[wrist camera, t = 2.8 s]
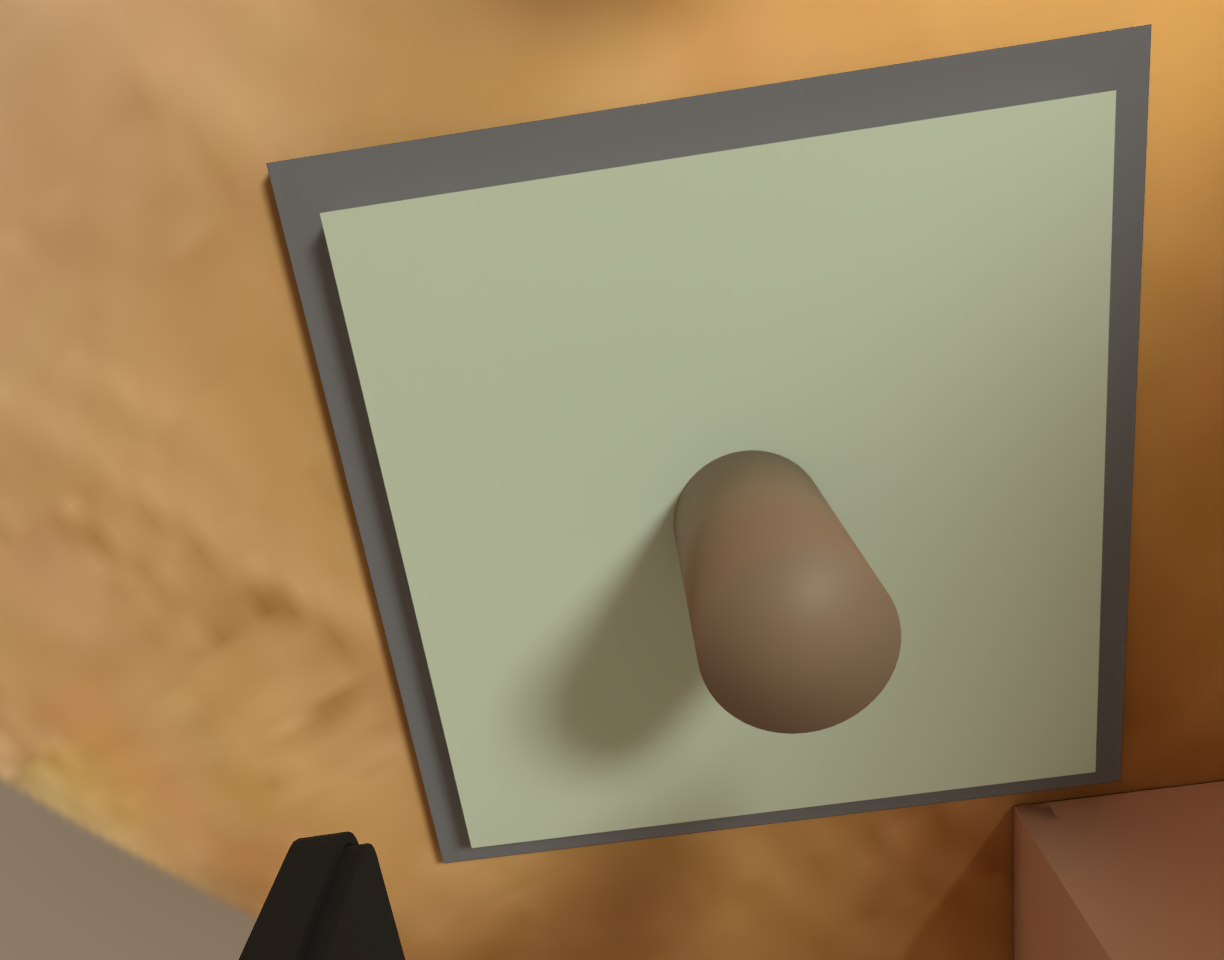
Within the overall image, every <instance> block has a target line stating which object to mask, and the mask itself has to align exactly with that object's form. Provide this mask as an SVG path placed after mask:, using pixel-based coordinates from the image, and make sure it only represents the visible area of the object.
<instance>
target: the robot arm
mask: <svg viewBox="0 0 1224 960" xmlns="http://www.w3.org/2000/svg"><path fill="white" fill-rule="evenodd" d="M239 960H405V957H404V954H403V950H402V946H401V943H400V939H399V935H398V932H397V928H396V924H395V921H394V917H393V913H392V910H391V906H390V902H389V899H388V895H387V891H386V888H385V884H384V880H383V877H382V873H381V869H380V866H379V862H378V858H377V855H376V852H375V849H374V847H373V846H372V844H369V843H367V844H360V845H359V844H358V842H357V839H356V837H355V836H354V835H353V833H351V832H342V833H335V834H328V835H320V836H313V837H306V838H299V839H297V840H296V841H294V842H293V844H292V845H291V847H290V848H289V851H288V853H287V855H286V857H285V859H284V862H283V864H282V866H281V868H280V870H279V873H278V875H277V877H276V879H275V881H274V884H273V886H272V888H271V890H270V892H269V894H268V897H267V899H266V901H265V903H264V905H263V908H262V910H261V912H260V914H259V916H258V919H257V921H256V923H255V925H254V927H253V930H252V932H251V934H250V936H249V938H248V941H247V943H246V945H245V947H244V949H243V952H242V954H241V956H240V958H239Z"/></svg>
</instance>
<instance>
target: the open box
mask: <svg viewBox="0 0 1224 960" xmlns="http://www.w3.org/2000/svg"><path fill="white" fill-rule="evenodd" d="M1013 887H1014V960H1224V781H1220V782H1212V783H1204V784H1196V785H1187V786H1179V787H1171V788H1162V789H1154V790H1146V791H1138V792H1129V793H1121V794H1113V795H1105V796H1096V797H1088V798H1080V799H1072V800H1063V801H1055V802H1047V803H1039V804H1030V805H1022V806H1014V807H1013Z"/></svg>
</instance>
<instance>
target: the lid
mask: <svg viewBox="0 0 1224 960" xmlns="http://www.w3.org/2000/svg"><path fill="white" fill-rule="evenodd" d="M1115 112H1116V90H1114V91H1107V92H1101V93H1094V94H1088V95H1081V96H1075V97H1069V98H1062V99H1056V100H1049V101H1043V102H1036V103H1030V104H1023V105H1017V106H1010V107H1004V108H997V109H991V110H984V111H978V112H971V113H965V114H958V115H952V116H945V117H939V118H932V119H926V120H919V121H913V122H906V123H900V124H894V125H887V126H881V127H874V128H868V129H861V130H855V131H848V132H842V133H835V134H829V135H822V136H816V137H809V138H803V139H796V140H790V141H783V142H777V143H770V144H764V145H757V146H751V147H744V148H738V149H732V150H725V151H719V152H712V153H706V154H699V155H693V156H686V157H680V158H673V159H667V160H660V161H654V162H647V163H641V164H634V165H628V166H621V167H615V168H608V169H602V170H595V171H589V172H582V173H576V174H569V175H563V176H557V177H550V178H544V179H537V180H531V181H524V182H518V183H511V184H505V185H498V186H492V187H485V188H479V189H472V190H466V191H459V192H453V193H446V194H440V195H433V196H427V197H420V198H414V199H407V200H401V201H395V202H388V203H382V204H375V205H369V206H362V207H356V208H349V209H343V210H336V211H330V212H323V213H320V217H321V221H322V225H323V229H324V234H325V238H326V242H327V246H328V250H329V254H330V259H331V263H332V267H333V271H334V275H335V279H336V284H337V288H338V292H339V296H340V300H341V305H342V309H343V313H344V317H345V321H346V325H347V330H348V334H349V338H350V342H351V346H352V350H353V355H354V359H355V363H356V367H357V371H358V376H359V380H360V384H361V388H362V392H363V396H364V401H365V405H366V409H367V413H368V417H369V421H370V426H371V430H372V434H373V438H374V442H375V447H376V451H377V455H378V459H379V463H380V467H381V472H382V476H383V480H384V484H385V488H386V492H387V497H388V501H389V505H390V509H391V513H392V517H393V522H394V526H395V530H396V534H397V538H398V543H399V547H400V551H401V555H402V559H403V563H404V568H405V572H406V576H407V580H408V584H409V588H410V593H411V597H412V601H413V605H414V609H415V614H416V618H417V622H418V626H419V630H420V634H421V639H422V643H423V647H424V651H425V655H426V659H427V664H428V668H429V672H430V676H431V680H432V685H433V689H434V693H435V697H436V701H437V705H438V710H439V714H440V718H441V722H442V726H443V730H444V735H445V739H446V743H447V747H448V751H449V755H450V760H451V764H452V768H453V772H454V776H455V781H456V785H457V789H458V793H459V797H460V801H461V806H462V810H463V814H464V818H465V822H466V826H467V831H468V835H469V839H470V843H471V847H472V848H477V847H486V846H494V845H502V844H510V843H518V842H527V841H535V840H543V839H551V838H559V837H568V836H576V835H584V834H592V833H600V832H608V831H617V830H625V829H633V828H641V827H649V826H658V825H666V824H674V823H682V822H690V821H698V820H707V819H715V818H723V817H731V816H739V815H748V814H756V813H764V812H772V811H780V810H789V809H797V808H805V807H813V806H821V805H829V804H838V803H846V802H854V801H862V800H870V799H879V798H887V797H895V796H903V795H911V794H919V793H928V792H936V791H944V790H952V789H960V788H969V787H977V786H985V785H993V784H1001V783H1010V782H1018V781H1026V780H1034V779H1042V778H1050V777H1059V776H1067V775H1075V774H1083V773H1091V772H1095V770H1096V737H1097V704H1098V671H1099V638H1100V605H1101V572H1102V540H1103V507H1104V474H1105V441H1106V408H1107V375H1108V342H1109V309H1110V277H1111V244H1112V211H1113V178H1114V145H1115Z"/></svg>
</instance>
